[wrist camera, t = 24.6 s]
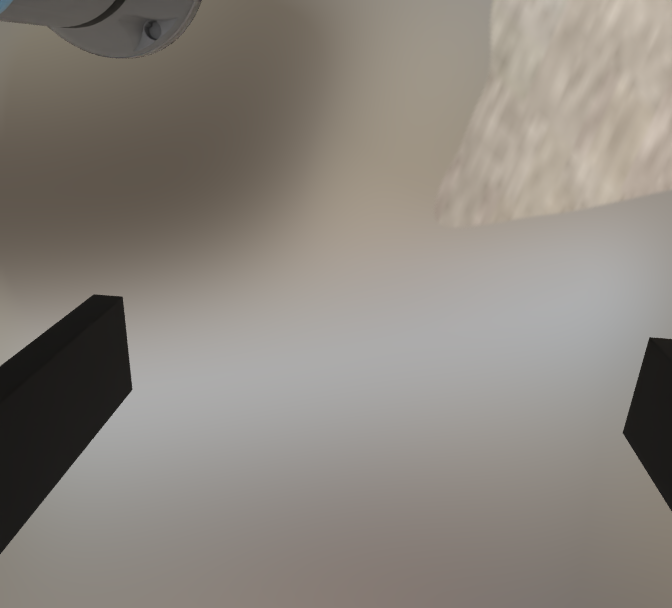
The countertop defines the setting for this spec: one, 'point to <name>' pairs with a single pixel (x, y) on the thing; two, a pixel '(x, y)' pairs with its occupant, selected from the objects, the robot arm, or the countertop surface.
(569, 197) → the countertop surface
